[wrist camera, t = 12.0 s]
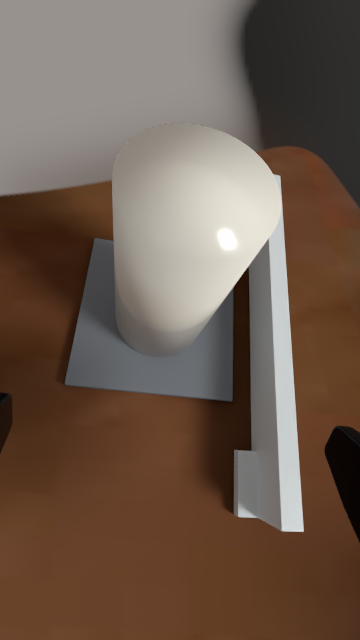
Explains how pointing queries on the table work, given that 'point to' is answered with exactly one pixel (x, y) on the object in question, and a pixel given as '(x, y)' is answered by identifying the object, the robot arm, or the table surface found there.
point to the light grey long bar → (270, 398)
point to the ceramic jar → (184, 230)
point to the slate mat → (136, 368)
